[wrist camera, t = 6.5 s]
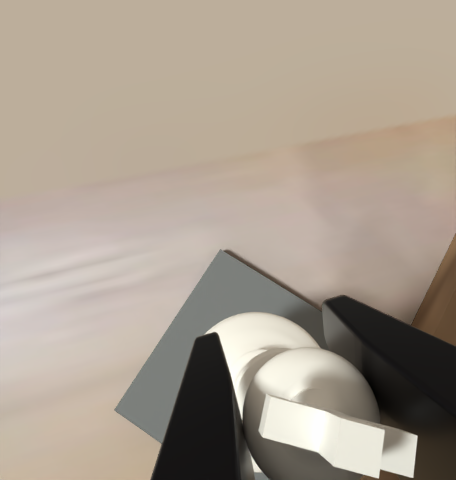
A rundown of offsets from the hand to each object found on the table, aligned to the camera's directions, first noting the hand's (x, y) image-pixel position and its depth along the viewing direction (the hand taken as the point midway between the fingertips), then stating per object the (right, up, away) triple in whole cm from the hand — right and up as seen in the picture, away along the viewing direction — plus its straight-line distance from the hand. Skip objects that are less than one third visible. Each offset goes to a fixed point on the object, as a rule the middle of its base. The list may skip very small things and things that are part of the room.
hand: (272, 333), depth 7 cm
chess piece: (0, -3, +6) cm, 7 cm away
